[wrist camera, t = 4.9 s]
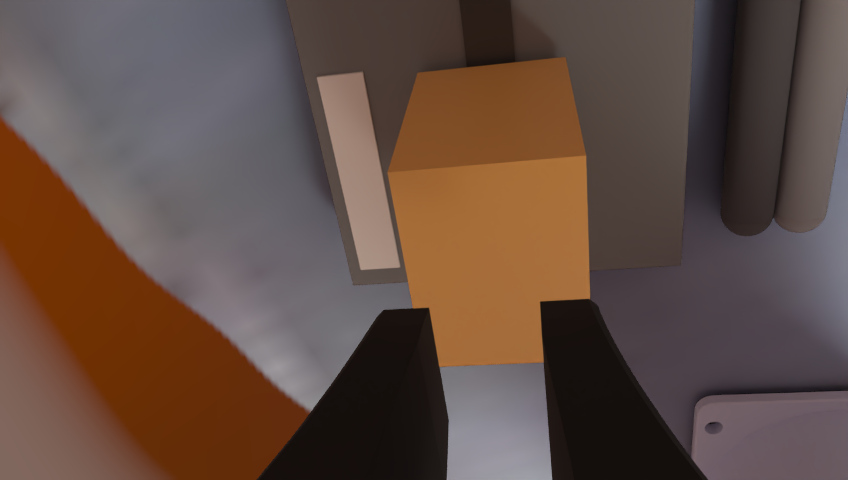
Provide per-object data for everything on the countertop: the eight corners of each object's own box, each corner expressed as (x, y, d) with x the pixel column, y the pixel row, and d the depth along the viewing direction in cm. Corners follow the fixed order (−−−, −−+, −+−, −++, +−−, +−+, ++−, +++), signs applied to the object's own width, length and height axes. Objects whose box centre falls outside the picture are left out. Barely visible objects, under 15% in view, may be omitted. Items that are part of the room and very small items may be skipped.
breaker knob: (572, 227, 17) (591, 360, 13) (442, 236, 17) (424, 367, 13) (565, 57, 14) (585, 156, 11) (417, 73, 15) (386, 172, 11)
